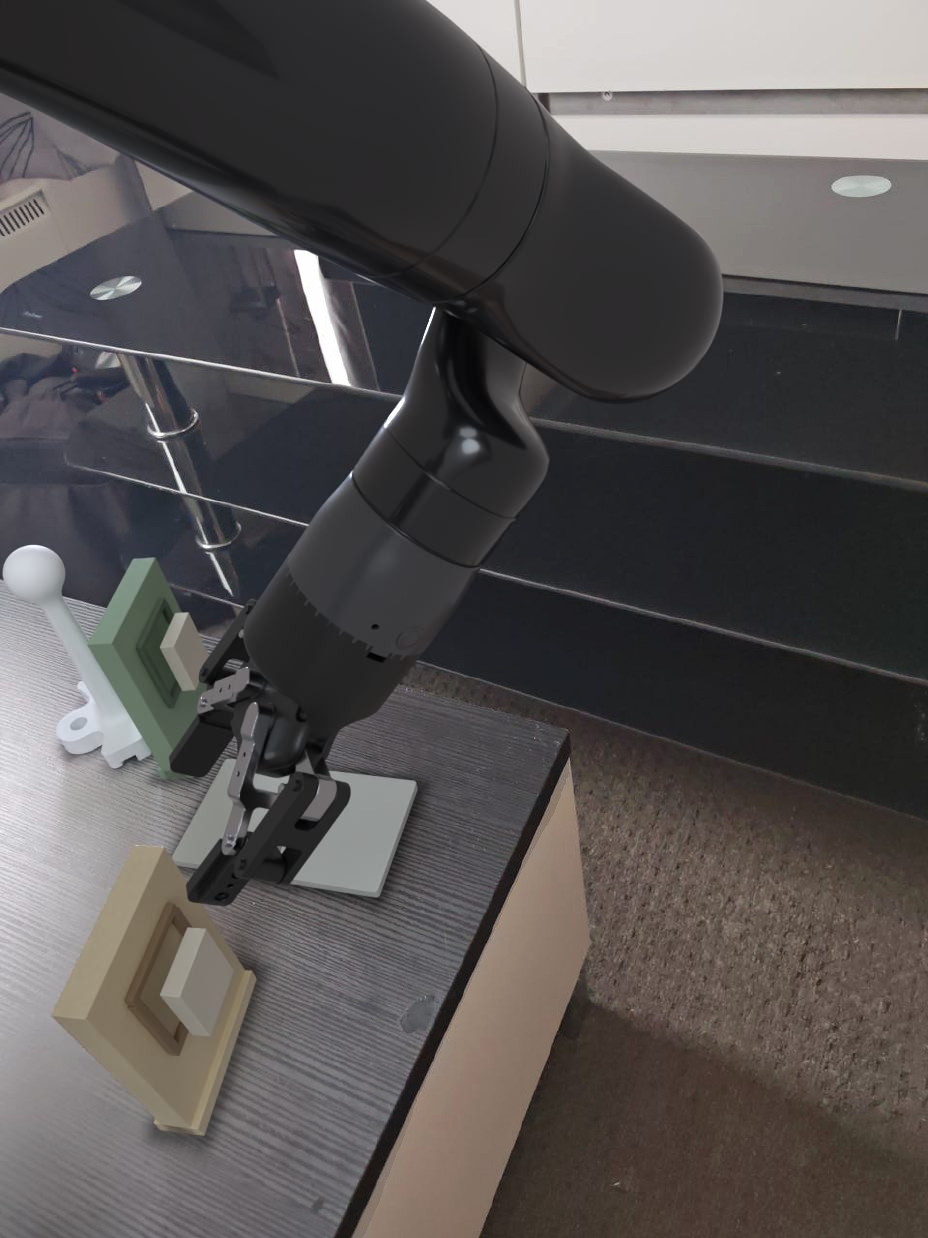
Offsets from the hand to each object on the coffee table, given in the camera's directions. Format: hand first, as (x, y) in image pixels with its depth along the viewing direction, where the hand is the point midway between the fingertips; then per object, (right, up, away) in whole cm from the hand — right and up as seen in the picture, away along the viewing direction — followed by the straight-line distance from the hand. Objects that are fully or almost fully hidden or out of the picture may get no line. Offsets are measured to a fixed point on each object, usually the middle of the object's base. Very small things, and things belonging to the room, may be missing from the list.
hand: (193, 830), depth 47 cm
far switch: (-8, +6, +29) cm, 31 cm away
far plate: (-9, +1, +34) cm, 35 cm away
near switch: (-1, -12, +7) cm, 14 cm away
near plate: (-2, -17, +12) cm, 21 cm away
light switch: (+1, -5, +25) cm, 25 cm away
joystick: (-18, +1, +36) cm, 41 cm away
